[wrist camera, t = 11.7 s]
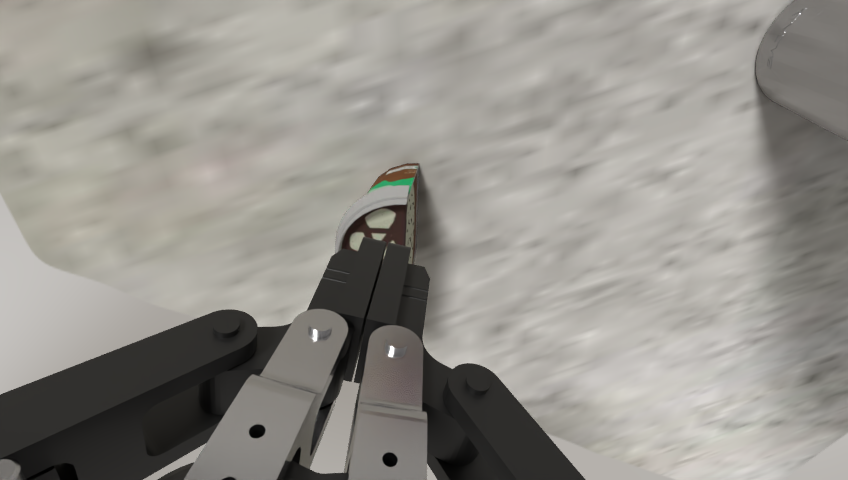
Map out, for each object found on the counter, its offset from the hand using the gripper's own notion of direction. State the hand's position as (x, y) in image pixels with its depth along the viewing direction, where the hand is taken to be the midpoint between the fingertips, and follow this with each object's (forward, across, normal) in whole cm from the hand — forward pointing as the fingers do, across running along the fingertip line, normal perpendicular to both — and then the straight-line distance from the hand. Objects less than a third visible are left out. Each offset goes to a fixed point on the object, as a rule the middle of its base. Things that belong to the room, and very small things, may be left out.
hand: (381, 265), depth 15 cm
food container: (+29, +2, +14) cm, 32 cm away
